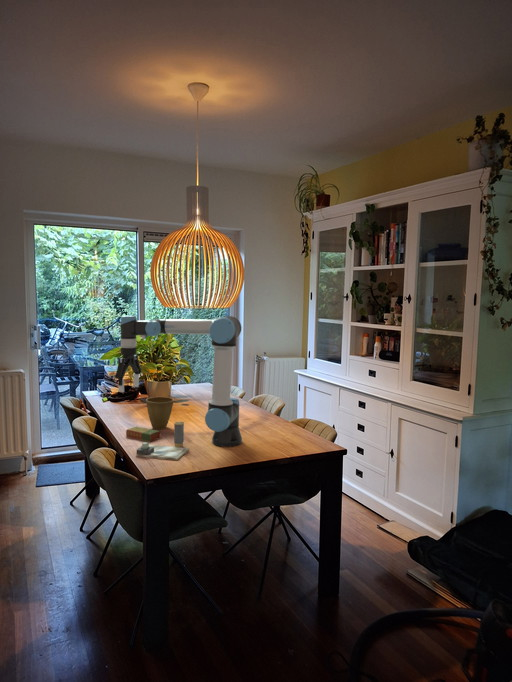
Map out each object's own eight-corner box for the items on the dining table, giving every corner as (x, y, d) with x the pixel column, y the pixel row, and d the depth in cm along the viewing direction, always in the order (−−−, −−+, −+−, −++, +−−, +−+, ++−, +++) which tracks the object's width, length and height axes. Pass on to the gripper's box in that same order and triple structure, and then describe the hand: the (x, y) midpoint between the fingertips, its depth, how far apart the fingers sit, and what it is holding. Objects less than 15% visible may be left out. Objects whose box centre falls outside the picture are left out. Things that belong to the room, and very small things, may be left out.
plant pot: (156, 433, 267) (157, 403, 266) (140, 427, 277) (140, 399, 276) (178, 427, 278) (179, 399, 276) (162, 422, 288) (162, 395, 286)
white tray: (188, 450, 241) (188, 444, 240) (177, 460, 226) (177, 454, 226) (149, 446, 245) (149, 440, 244) (136, 456, 230) (136, 449, 230)
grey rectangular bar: (183, 445, 247) (183, 422, 246) (181, 447, 244) (181, 423, 242) (176, 445, 248) (176, 421, 247) (174, 447, 245) (174, 423, 243)
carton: (136, 433, 267) (136, 425, 266) (160, 438, 260) (160, 430, 259) (125, 437, 259) (125, 429, 259) (150, 442, 252) (150, 434, 252)
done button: (149, 448, 234) (149, 442, 233) (147, 450, 231) (147, 444, 230) (143, 448, 234) (143, 441, 234) (140, 450, 231) (140, 443, 231)
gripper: (135, 344, 259) (135, 384, 261) (107, 349, 235) (107, 393, 238) (148, 344, 257) (148, 385, 259) (121, 350, 233) (121, 394, 235)
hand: (128, 389), depth 248 cm, fingers open, 13 cm apart
